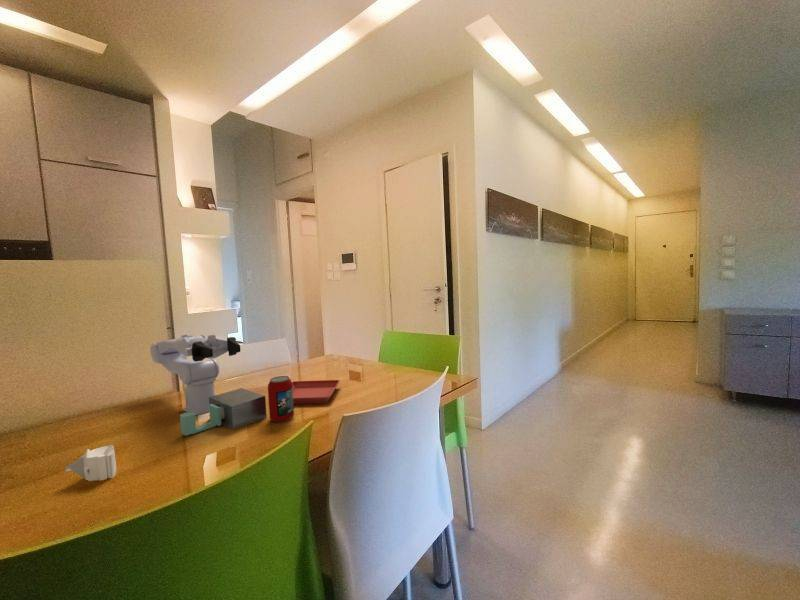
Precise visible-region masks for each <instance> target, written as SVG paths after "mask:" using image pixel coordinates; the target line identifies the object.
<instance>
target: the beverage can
mask: <svg viewBox="0 0 800 600" xmlns="http://www.w3.org/2000/svg"><path fill="white" fill-rule="evenodd" d="M292 382H293V381H292V380H291V379H290V377H289V376H287V375H279V376H274V377H271V378H269V382H268V385H267V396H268V398H267V399H268V409H269V410H268V412H269V419H270V420H271V421H273V422H276V423H282V422H283V423H284V422H286V421H289V420H291V418H293V417H294V414H295V411H294V410H295V409H294V408H295V407H294V404H293V389H292Z"/></svg>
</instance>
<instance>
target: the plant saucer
mask: <svg viewBox="0 0 800 600" xmlns="http://www.w3.org/2000/svg"><path fill="white" fill-rule="evenodd" d="M291 382H292V389H293V405H308V404H309V405H311V404H312V405H313V403H314V405H315V404H326V403H328V402H329V400H330V398H331V396H332V395H333V393H334V392H335V390H336V389H337V387H338V385H339V383H340V379H329V380H328V379H325V380H321V379H320V380H298V381H297V380H296V381H295V380H294V381H291Z"/></svg>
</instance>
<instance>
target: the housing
mask: <svg viewBox="0 0 800 600" xmlns="http://www.w3.org/2000/svg"><path fill="white" fill-rule="evenodd" d="M210 404H213V405H216V406H218V407H220V406H222V407H224V419H221V425H223V426H225V427H227V428H229V429H231V430H236V429H239V428H241V427H244V426H247V425H250V424H252V423H254V422H258V421H260V420H263V419H265V418H267V402H266V395H264V394H261V393H258V392H255V391H251V390H248V389H245V388H237V389H234V390H229V391H226V392H224V393H219V394H215V396H212V397H209V405H210ZM257 420H258V421H257Z"/></svg>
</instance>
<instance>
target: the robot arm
mask: <svg viewBox="0 0 800 600" xmlns="http://www.w3.org/2000/svg"><path fill="white" fill-rule="evenodd" d="M216 337H217V335H215V334H210V335H207V337H206V336H205V335H204V334H200V335H195V336H194V335H192V334H190V335H188V334H181V335H180V337H178V338H173V339H169V340H168V339H166V340H162V341H158V342H155V343H154V342H153V343H152V344H151V345H150V356H151V358H152V361H153V362H154V363H156V364H160V365H162V366H163V368H165V369H166V370H167V371H168V372H170V373H173V374H176V375H178V378H179V380H180V381H181V382H182V383H183V384H184V385H186V386H185V388H184V398H185V399H184V400H185V407H183V408H182V410H183V411H185V413H187V412H192V413H194V414H195V416H199V415H202V414H205V413H210V411H209V397H212V396H215V395H216V394H215V393H216V392H215V382H214V381H216V380H217V378H218V377H219V374H220V365H219V363H218V361H217V360H216V358H218V357H220V356H223V355H225V354H226V353H228V357H231V356H236V355H237V353H241V345H240V343H239V341H237V338H236V337H233V336H231V337H227V338H226V340H225V339H219V338H216ZM188 357H191V358H192V360H191V359H188ZM205 359H209V360H205Z"/></svg>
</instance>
